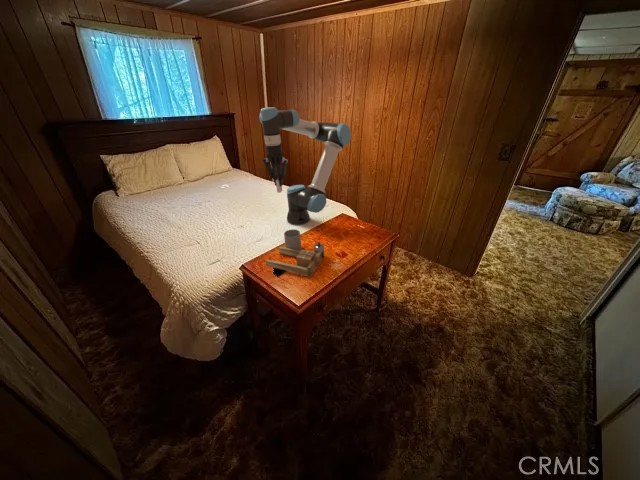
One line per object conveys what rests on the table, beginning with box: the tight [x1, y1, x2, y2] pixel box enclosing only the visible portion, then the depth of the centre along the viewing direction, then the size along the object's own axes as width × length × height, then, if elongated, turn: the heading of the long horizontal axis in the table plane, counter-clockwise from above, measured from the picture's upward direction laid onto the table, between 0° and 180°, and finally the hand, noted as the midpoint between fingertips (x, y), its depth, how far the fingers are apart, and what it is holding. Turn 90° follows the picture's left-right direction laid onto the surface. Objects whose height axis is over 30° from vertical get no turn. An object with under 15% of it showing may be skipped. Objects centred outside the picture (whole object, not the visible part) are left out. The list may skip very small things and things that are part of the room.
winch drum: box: [313, 241, 325, 259], centre depth 128 cm, size 5×5×8 cm
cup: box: [283, 229, 302, 251], centre depth 135 cm, size 8×8×10 cm
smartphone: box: [273, 268, 288, 278], centre depth 123 cm, size 7×1×15 cm
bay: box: [265, 246, 323, 278], centre depth 124 cm, size 14×24×5 cm, turn 69°
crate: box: [295, 248, 316, 268], centre depth 121 cm, size 7×7×7 cm
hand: (279, 191), depth 132 cm, fingers closed
